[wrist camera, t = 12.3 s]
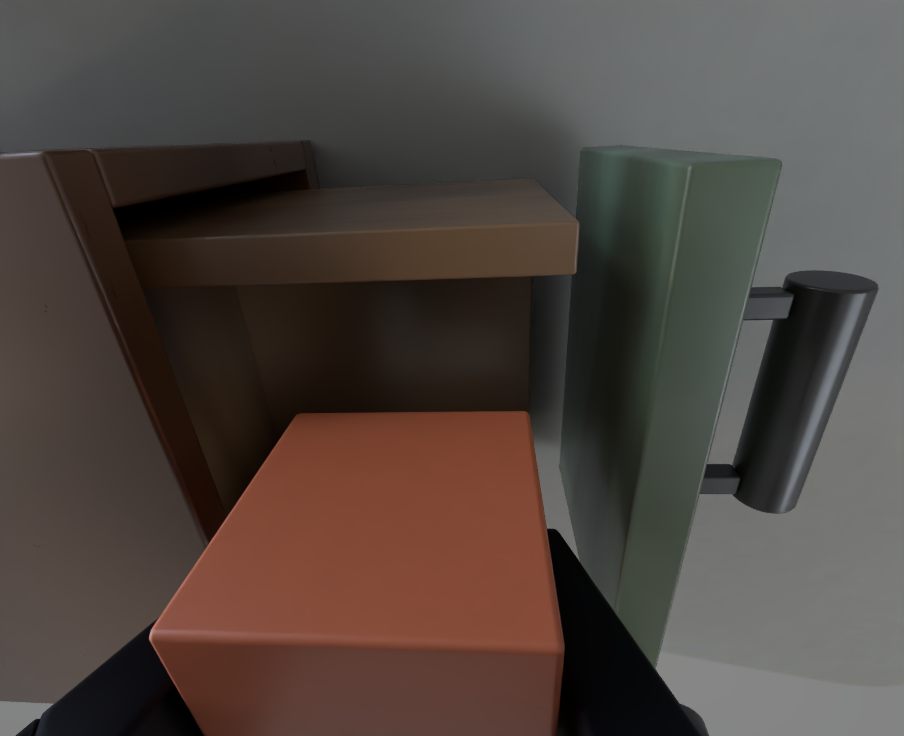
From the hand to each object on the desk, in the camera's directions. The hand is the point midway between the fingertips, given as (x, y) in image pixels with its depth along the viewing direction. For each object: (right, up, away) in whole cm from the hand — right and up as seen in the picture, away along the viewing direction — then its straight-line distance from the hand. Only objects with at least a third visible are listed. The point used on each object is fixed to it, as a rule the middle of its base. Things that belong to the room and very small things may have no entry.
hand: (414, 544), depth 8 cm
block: (0, 0, +1) cm, 1 cm away
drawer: (+2, +4, +8) cm, 9 cm away
